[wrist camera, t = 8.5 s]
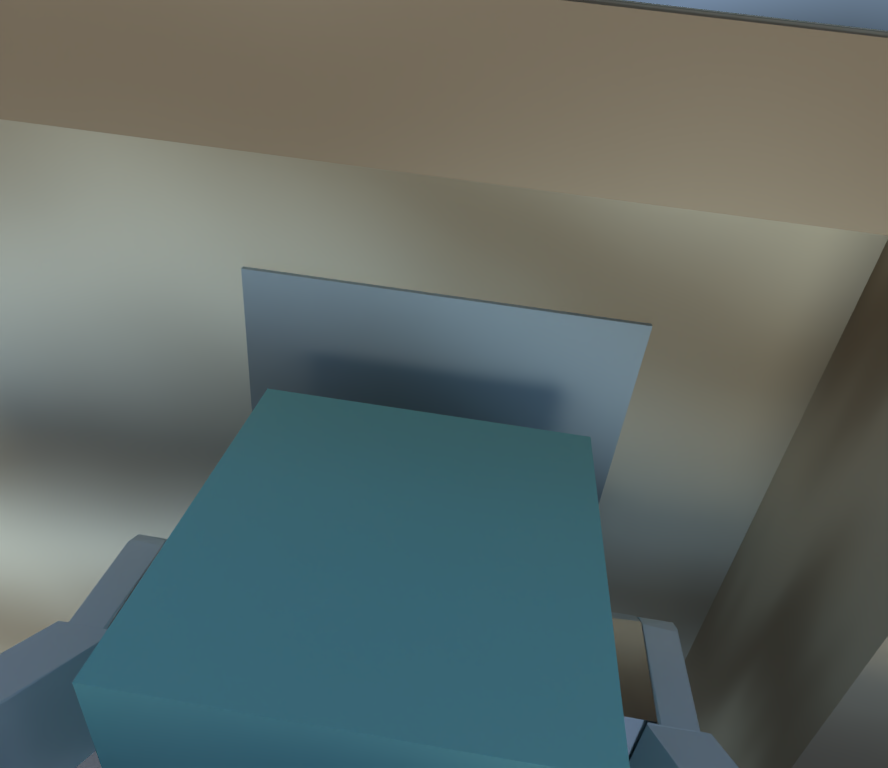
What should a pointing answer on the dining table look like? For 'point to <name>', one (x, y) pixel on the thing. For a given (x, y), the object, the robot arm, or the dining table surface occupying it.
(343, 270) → the arena
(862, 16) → the dining table surface
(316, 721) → the cube
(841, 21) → the dining table surface
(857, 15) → the dining table surface
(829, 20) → the dining table surface
